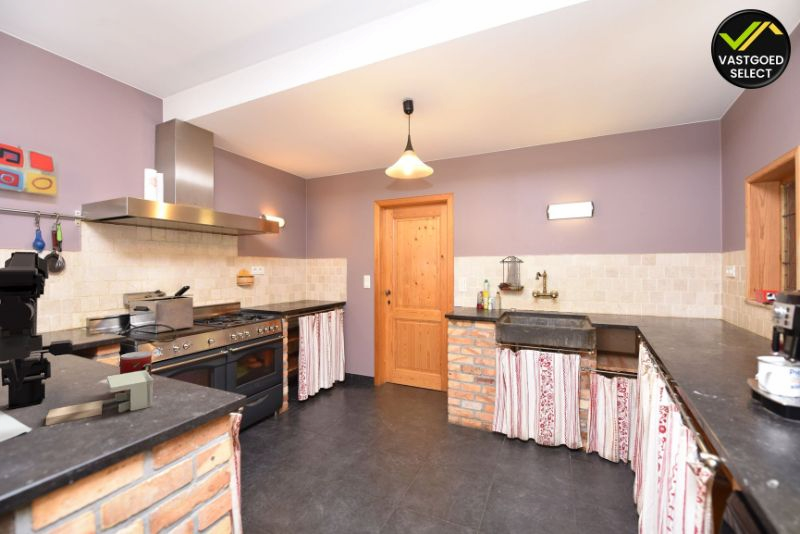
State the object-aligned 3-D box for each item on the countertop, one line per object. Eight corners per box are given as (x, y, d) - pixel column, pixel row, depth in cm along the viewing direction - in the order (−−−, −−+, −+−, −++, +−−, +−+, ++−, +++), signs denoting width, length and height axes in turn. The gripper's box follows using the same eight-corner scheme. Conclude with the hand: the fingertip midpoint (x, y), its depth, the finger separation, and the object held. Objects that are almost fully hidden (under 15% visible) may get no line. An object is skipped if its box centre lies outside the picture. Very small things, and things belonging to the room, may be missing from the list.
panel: (45, 427, 82) (46, 418, 82) (49, 418, 87) (49, 409, 87) (101, 415, 88) (101, 407, 88) (102, 408, 93) (102, 400, 93)
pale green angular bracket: (110, 415, 87) (111, 387, 87) (107, 401, 96) (107, 376, 96) (153, 405, 93) (153, 380, 93) (145, 393, 103) (145, 370, 103)
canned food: (134, 395, 101) (135, 357, 101) (112, 393, 103) (112, 356, 103) (158, 386, 109) (158, 351, 109) (137, 385, 110) (137, 350, 110)
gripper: (-57, 332, 68) (-58, 411, 68) (72, 322, 81) (72, 388, 81) (-44, 326, 76) (-44, 396, 76) (72, 317, 89) (72, 377, 89)
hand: (17, 389), depth 81 cm, fingers closed
